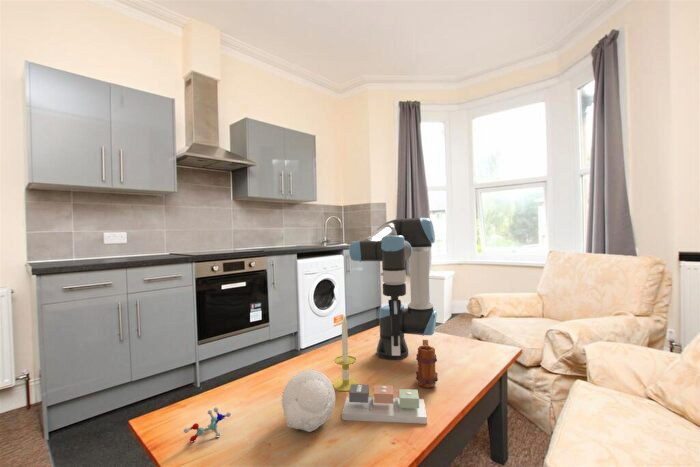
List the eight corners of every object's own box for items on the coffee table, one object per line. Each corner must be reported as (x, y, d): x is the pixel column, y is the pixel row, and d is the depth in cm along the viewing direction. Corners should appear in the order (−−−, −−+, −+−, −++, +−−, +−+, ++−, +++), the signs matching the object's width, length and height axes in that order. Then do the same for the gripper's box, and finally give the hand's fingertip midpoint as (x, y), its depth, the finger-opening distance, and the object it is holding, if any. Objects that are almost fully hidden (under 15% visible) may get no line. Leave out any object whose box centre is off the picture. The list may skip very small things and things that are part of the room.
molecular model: (197, 412, 103) (208, 390, 100) (224, 425, 104) (236, 404, 101) (175, 446, 92) (187, 422, 89) (207, 460, 93) (219, 437, 90)
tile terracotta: (375, 393, 111) (374, 384, 111) (393, 394, 110) (393, 385, 110) (374, 403, 105) (374, 393, 105) (393, 403, 104) (393, 393, 104)
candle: (346, 377, 134) (344, 310, 134) (364, 385, 127) (362, 314, 127) (327, 385, 127) (325, 315, 127) (345, 394, 120) (343, 320, 120)
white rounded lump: (326, 403, 114) (325, 357, 114) (354, 428, 99) (353, 374, 99) (270, 422, 103) (268, 371, 103) (292, 453, 88) (290, 393, 88)
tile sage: (399, 398, 110) (399, 388, 110) (417, 398, 109) (417, 389, 109) (399, 407, 104) (399, 397, 104) (419, 408, 103) (419, 398, 103)
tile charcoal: (351, 393, 112) (351, 383, 112) (369, 393, 111) (369, 384, 111) (349, 402, 106) (349, 392, 106) (368, 402, 105) (367, 392, 105)
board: (346, 402, 114) (346, 392, 114) (423, 405, 111) (423, 395, 111) (342, 419, 103) (342, 409, 103) (427, 423, 100) (426, 413, 100)
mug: (438, 391, 120) (437, 350, 120) (416, 390, 122) (415, 349, 122) (436, 374, 135) (435, 337, 135) (416, 373, 136) (415, 337, 136)
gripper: (382, 279, 115) (384, 347, 115) (382, 286, 102) (384, 362, 102) (404, 279, 114) (406, 347, 114) (407, 286, 101) (409, 362, 101)
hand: (396, 354), depth 108 cm, fingers closed
